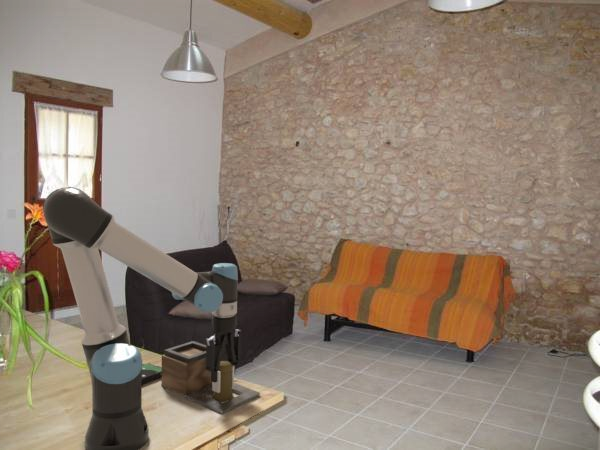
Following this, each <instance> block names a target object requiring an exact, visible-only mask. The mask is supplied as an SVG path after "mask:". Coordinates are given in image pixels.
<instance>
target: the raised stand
mask: <svg viewBox="0 0 600 450" xmlns="http://www.w3.org/2000/svg"><path fill="white" fill-rule="evenodd" d="M161 367H162V378H161V386H162V387H165V388H167V389H169V390H171V391H174V392H175V393H178V394H181V395H182V396H185V397H186V395H187V394H189V393H192V392H194V391H196V390H199V389H201V388H203V387H206V386H208V385H211V384H212V381H211V372H210V371H208V370H206V344H203V343H200V342H198V341H194V340H191V341H189V342H185V343H183V344H178V345H176V346H173V347H168V348H167V349H164V350H163V354H161Z"/></svg>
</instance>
